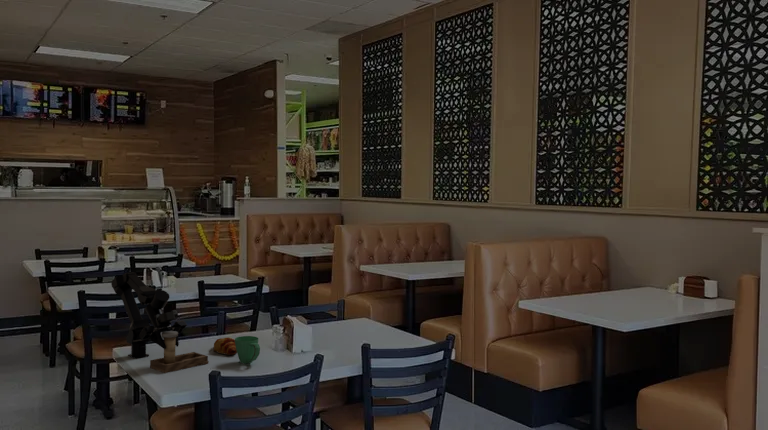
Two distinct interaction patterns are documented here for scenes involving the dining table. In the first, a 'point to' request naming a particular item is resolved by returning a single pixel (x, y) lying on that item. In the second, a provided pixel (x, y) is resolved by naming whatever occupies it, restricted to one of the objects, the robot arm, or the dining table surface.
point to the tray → (179, 362)
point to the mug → (247, 348)
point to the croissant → (225, 346)
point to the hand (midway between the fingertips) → (171, 347)
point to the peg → (169, 346)
